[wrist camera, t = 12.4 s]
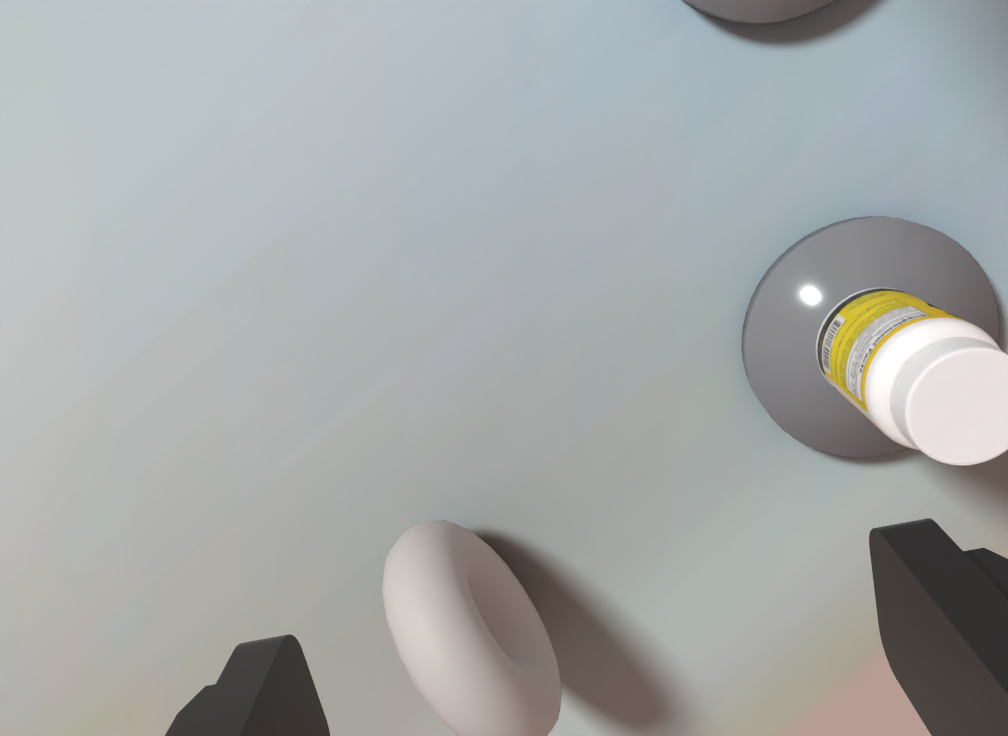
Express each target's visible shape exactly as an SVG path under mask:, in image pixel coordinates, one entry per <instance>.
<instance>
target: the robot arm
mask: <svg viewBox="0 0 1008 736" xmlns="http://www.w3.org/2000/svg"><path fill="white" fill-rule="evenodd" d="M869 545H870V555H871V563H872V572H873V580H874V589H875V597H876V606H877V614H878V623H879V630H880V635H881V640H882V644H883V647H884V651H885V654H886V657H887V659H888V661H889V664H890V667H891V669H892V671H893V673H894V675H895V677H896V679H897V680H898V682H899V684H900V685H901V687H902V688H903V690H904V692H905V693H906V695H907V697H908V698H909V700H910V701H911V703H912V705H913V706H914V708H915V709H916V711H917V712H918V714H919V716H920V718H921V719H922V721H923V722H924V724H925V726H926V727H927V729H928V730H929V732H930V734H931V735H932V736H1008V559H1007V558H1005V557H1002V556H1000V555H998V554H996V553H994V552H992V551H990V550H987V549H985V548H980V549H974V550H969V551H962V550H961V549H960V548H959V547H958V546H957V545H956V544H955V542H954V541H953V540H952V539H951V538H950V537H949V536H948V535H947V534H946V533H945V532H944V531H943V530H942V529H941V528H940V526H939V525H938V524H937V523H936V522H935V521H933V520H932V519H929V518H927V519H922V520H917V521H911V522H906V523H900V524H895V525H889V526H884V527H879V528H873V529H872V530H871V531H870V536H869ZM165 736H330V733H329V728H328V724H327V720H326V717H325V714H324V711H323V709H322V706H321V703H320V700H319V697H318V694H317V691H316V688H315V685H314V683H313V680H312V677H311V674H310V671H309V668H308V665H307V662H306V659H305V657H304V654H303V651H302V648H301V646H300V644H299V642H298V640H297V639H296V638H295V637H294V636H293V635H284V636H278V637H273V638H268V639H262V640H257V641H251V642H246V643H241V644H239V645H238V646H237V647H236V648H235V649H234V651H233V653H232V655H231V657H230V659H229V660H228V662H227V664H226V666H225V668H224V670H223V672H222V674H221V675H220V677H219V679H218V681H217V683H216V684H215V685H209V686H205V687H204V688H203V689H202V690H201V691H200V692H199V693H198V694H197V695H196V696H195V697H194V698H193V699H192V700H191V701H190V702H189V703H188V704H187V705H186V706H185V707H184V708H183V709H182V710H181V711H180V712H179V713H178V714H177V716H176V717H175V719H174V721H173V723H172V724H171V726H170V728H169V730H168V731H167V733H166V735H165Z"/></svg>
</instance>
